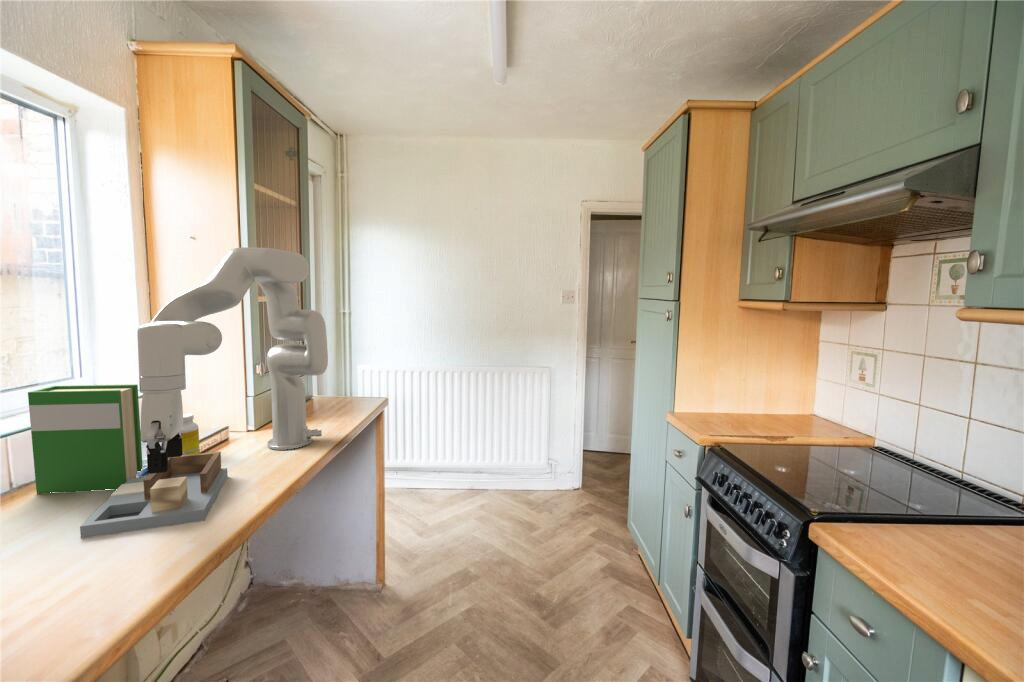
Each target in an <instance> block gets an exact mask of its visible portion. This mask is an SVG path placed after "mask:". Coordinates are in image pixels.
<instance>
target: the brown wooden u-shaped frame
mask: <svg viewBox="0 0 1024 682" xmlns="http://www.w3.org/2000/svg"><path fill="white" fill-rule="evenodd" d="M221 468H222V455H221V451H212V452H202V453H201V452H200V454H189V455H182V456H180V457H170V458H168V471H167V472H163V473H153V474H149V473H148V475H147V476H145V477H146V478H145V479H144V480H143V482H144V498H145V500H151V495H150V489H151V488H152V487H153V485H154V484H155V483H156V482H157V481H158V480H160V479H169V478H170V477H171V476H172V475H181V474H191V473H200V472H201V473H200V485H201V493H207V492H208V490H209V489H210V487H211V485H212V484H213V482H214V480H215V478H216V477H217V475H218V473H219V472H220V470H221Z"/></svg>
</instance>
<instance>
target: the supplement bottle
mask: <svg viewBox="0 0 1024 682" xmlns="http://www.w3.org/2000/svg"><path fill="white" fill-rule="evenodd" d="M199 429H200V428H199V424H197V423H196V422H194V414H193V413H183V427H182V430H181V432H182V437H181V438H182V452H183V454H182V455H189V454H200V453H201V449H200V435H199V433H200V431H199Z"/></svg>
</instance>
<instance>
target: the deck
mask: <svg viewBox="0 0 1024 682" xmlns="http://www.w3.org/2000/svg"><path fill="white" fill-rule="evenodd" d="M200 473H201V472H200ZM200 473H191V474H181V475H172V476H171V477H170V478H178V477H187V492H188V499H187V501H186V502H185V504H184V505H183V507H182V508H181V509H176V510H168V511H161V512H154V513H152V512H151V500H145V498H144V482H143V480H144V479H145V478H146V477H147V476H143V477H139V478H130V479H129V480H128V481H127V482H126V483H125V484H122V485H121V486H120V487H119V488H118V489H117V490H114V491H113V492H112V493H111V494H110V497H109V498H108V499H107V500H105V502H104V503H103V504H102V505H101V506H99V508H98V509H96V511H95V512H94V513H92V514H91V515H90V516H89V517H88V518H87V519H86V520H85V521H84V522H82V524H81V525H80V526H79V531H80V539H86V538H93V537H100V536H106V535H113V534H121V533H128V532H135V530H136V531H141V530H147V529H156V528H162V527H167V526H168V527H169V526H170V527H171V526H176V525H177V526H178V525H183V524H191V523H197V522H203V521H205V520H206V519H207V517H208V515H209V514H210V512H211V509H212V507H213V506H212V505H214V504H215V502H216V500H217V499H218V498H217V497H218V496H219V494H220V492H221V490H222V489H221V488H223V487H222V486H224V485H223V484H225V483H226V481H227V479H228V468H227V467H223V468H222V467H221V470H220V472H219V473H218V475H217V477H216V478H215V480H214V482H213V484H212V485H211V487H210V489H209V490H208V492H207V493H201V485H200Z"/></svg>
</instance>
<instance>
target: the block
mask: <svg viewBox="0 0 1024 682" xmlns="http://www.w3.org/2000/svg"><path fill="white" fill-rule="evenodd" d="M150 495H151V512H152V513H154V512H161V511H168V510H176V509H181V508H182V507H183V505H184V504H185V502H186V501H187V499H188V492H187V477H178V478H169V479H160V480H158V481H157V482H156V483H155V484H154V485H153V487H152V488H151V489H150Z"/></svg>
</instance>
